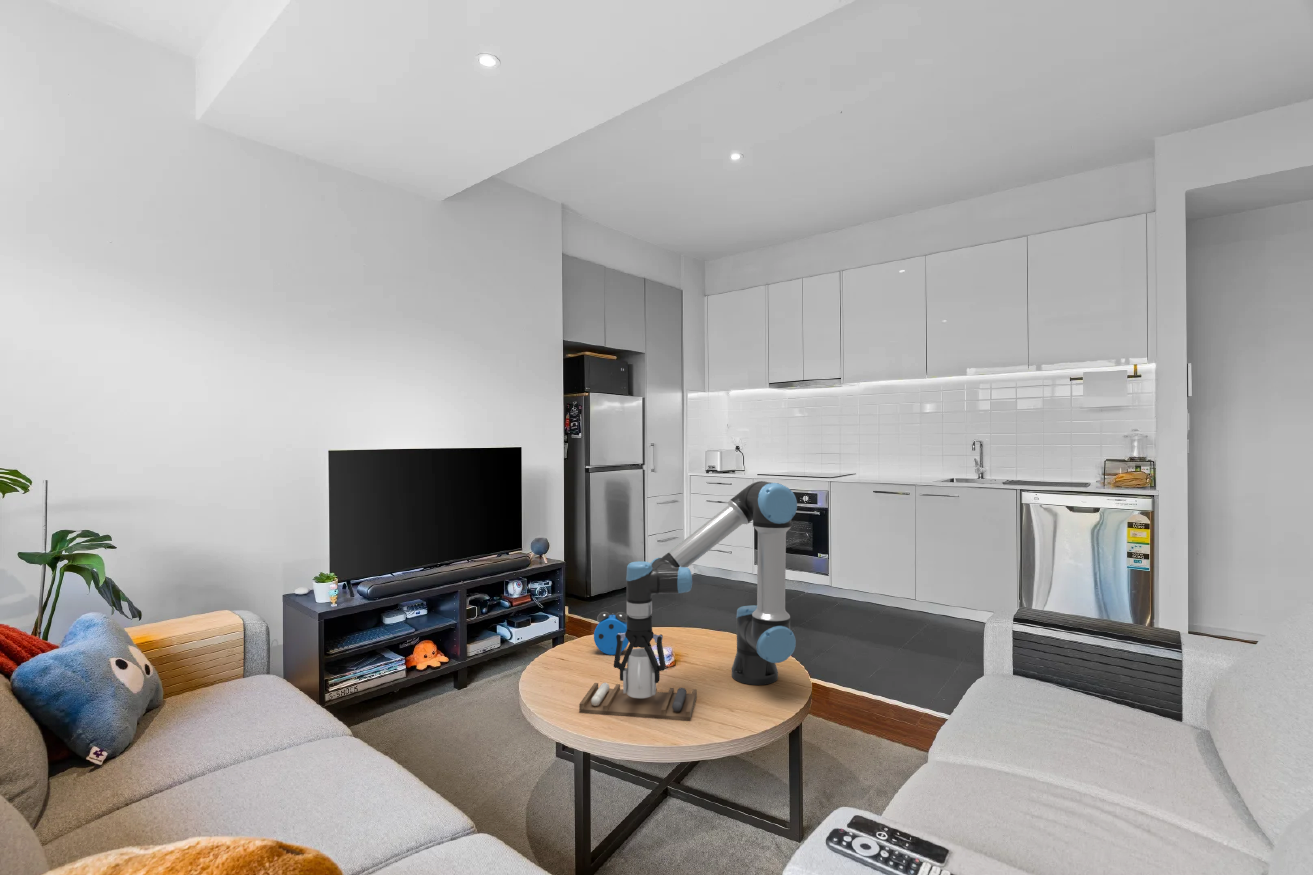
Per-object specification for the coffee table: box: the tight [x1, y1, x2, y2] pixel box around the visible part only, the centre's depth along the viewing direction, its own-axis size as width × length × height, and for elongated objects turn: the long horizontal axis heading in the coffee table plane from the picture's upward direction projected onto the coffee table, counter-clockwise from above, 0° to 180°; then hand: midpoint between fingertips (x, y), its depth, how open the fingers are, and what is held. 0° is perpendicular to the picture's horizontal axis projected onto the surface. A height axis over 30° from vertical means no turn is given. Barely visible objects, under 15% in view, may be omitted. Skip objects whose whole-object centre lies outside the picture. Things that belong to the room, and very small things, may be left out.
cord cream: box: [591, 682, 610, 706], centre depth 186 cm, size 3×13×3 cm, turn 170°
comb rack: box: [578, 682, 698, 722], centre depth 184 cm, size 32×16×2 cm, turn 80°
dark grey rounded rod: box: [672, 687, 688, 712], centre depth 182 cm, size 3×13×3 cm, turn 170°
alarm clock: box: [593, 611, 630, 656], centre depth 230 cm, size 13×6×15 cm, turn 85°
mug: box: [626, 647, 655, 698], centre depth 184 cm, size 12×8×12 cm
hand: (639, 692), depth 184 cm, fingers closed on mug, 8 cm apart
